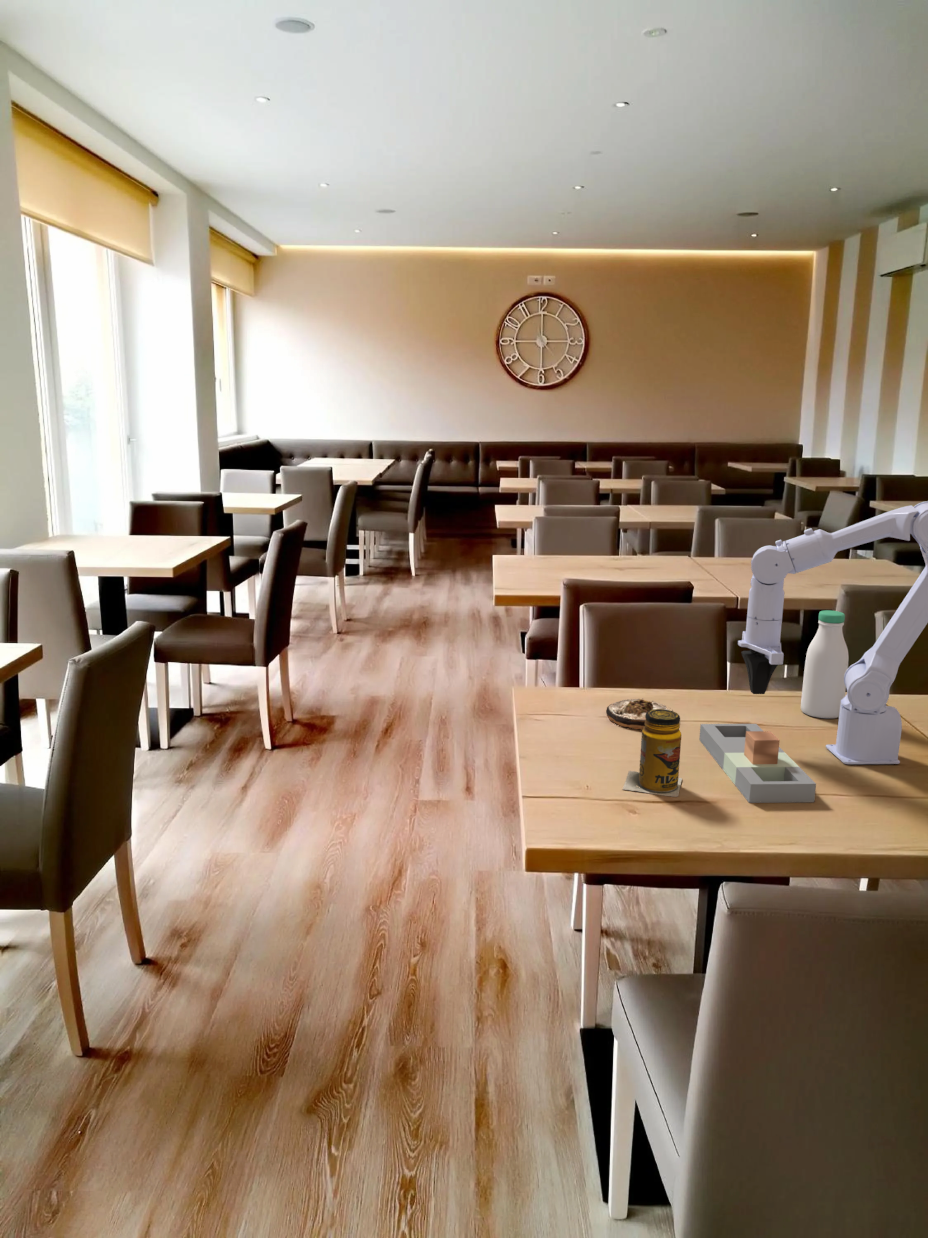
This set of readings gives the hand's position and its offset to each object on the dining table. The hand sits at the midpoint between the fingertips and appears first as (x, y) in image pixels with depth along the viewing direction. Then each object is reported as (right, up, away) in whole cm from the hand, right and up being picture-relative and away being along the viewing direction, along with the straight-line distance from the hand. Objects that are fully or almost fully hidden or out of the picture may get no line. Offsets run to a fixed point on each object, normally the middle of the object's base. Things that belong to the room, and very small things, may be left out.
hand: (757, 693), depth 163 cm
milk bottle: (+18, -6, +19) cm, 27 cm away
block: (-3, -10, -13) cm, 16 cm away
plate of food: (-18, -7, +14) cm, 24 cm away
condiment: (-21, -13, -15) cm, 29 cm away
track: (-4, -12, -9) cm, 15 cm away
